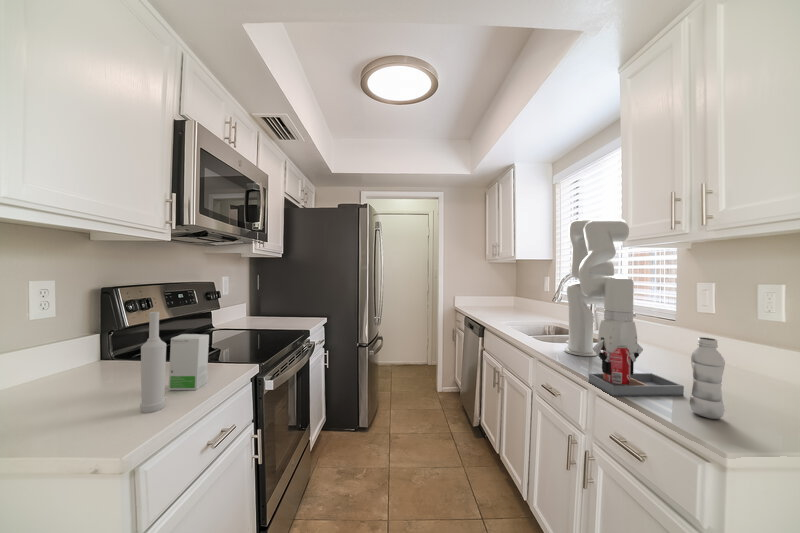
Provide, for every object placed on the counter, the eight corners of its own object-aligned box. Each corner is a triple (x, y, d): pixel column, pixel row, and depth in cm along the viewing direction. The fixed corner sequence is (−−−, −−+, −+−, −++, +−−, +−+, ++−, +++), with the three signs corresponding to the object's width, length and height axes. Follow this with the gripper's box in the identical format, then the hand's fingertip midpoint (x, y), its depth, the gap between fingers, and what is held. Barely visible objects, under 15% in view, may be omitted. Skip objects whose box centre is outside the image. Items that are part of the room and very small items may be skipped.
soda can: (622, 379, 101) (622, 342, 101) (635, 387, 94) (635, 348, 94) (598, 378, 102) (599, 341, 102) (610, 386, 95) (610, 347, 95)
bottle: (140, 407, 81) (142, 311, 81) (165, 402, 84) (166, 310, 84) (139, 415, 77) (140, 314, 77) (165, 409, 80) (166, 312, 80)
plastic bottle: (716, 413, 82) (717, 337, 82) (730, 425, 76) (731, 343, 76) (684, 408, 85) (685, 335, 85) (696, 419, 78) (697, 340, 78)
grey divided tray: (588, 382, 103) (588, 373, 103) (651, 382, 104) (651, 373, 104) (613, 396, 92) (613, 386, 92) (683, 396, 93) (683, 386, 93)
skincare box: (167, 391, 92) (168, 338, 92) (180, 382, 98) (181, 333, 98) (197, 390, 93) (198, 338, 93) (208, 382, 99) (209, 333, 99)
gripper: (634, 314, 102) (634, 369, 102) (584, 314, 101) (583, 369, 101) (654, 318, 94) (654, 377, 95) (600, 318, 94) (599, 378, 94)
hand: (617, 372), depth 98 cm, fingers closed on soda can, 6 cm apart
